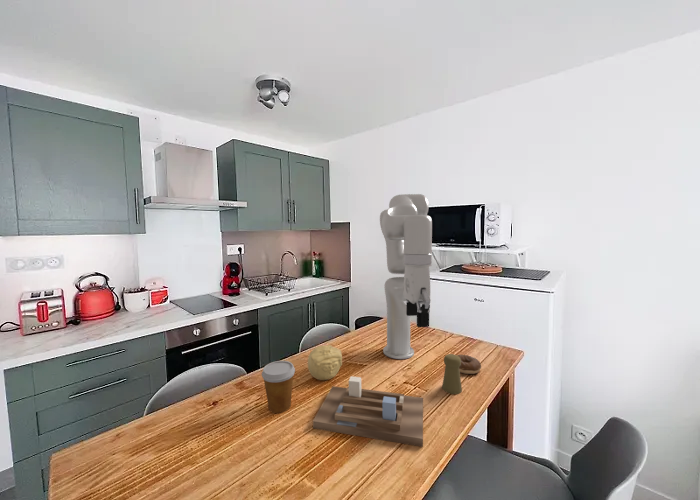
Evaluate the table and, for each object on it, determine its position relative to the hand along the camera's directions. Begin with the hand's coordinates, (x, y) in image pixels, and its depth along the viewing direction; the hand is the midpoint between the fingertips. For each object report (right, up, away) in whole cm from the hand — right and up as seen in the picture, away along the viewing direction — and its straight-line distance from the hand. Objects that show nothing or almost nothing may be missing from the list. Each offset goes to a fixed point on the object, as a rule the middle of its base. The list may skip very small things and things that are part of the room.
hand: (417, 320), depth 82 cm
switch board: (-13, -26, 0) cm, 29 cm away
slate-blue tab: (-9, -25, -6) cm, 27 cm away
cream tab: (-17, -24, +5) cm, 30 cm away
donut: (+24, -24, +25) cm, 42 cm away
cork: (+14, -25, +12) cm, 31 cm away
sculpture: (-28, -25, +22) cm, 43 cm away
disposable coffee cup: (-40, -27, +4) cm, 48 cm away
